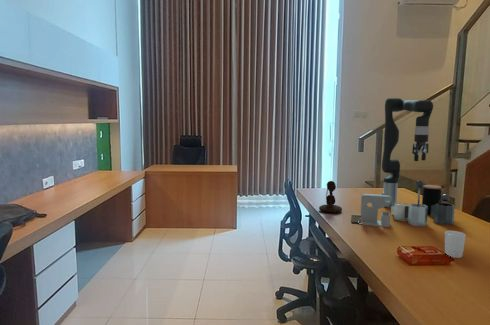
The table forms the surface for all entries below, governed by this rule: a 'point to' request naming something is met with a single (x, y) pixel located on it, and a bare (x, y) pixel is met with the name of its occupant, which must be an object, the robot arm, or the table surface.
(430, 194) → the coffee jar
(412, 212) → the steel press
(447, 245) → the white cup
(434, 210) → the black press
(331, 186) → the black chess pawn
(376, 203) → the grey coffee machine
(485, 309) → the table surface
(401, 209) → the mug
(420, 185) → the plunger
